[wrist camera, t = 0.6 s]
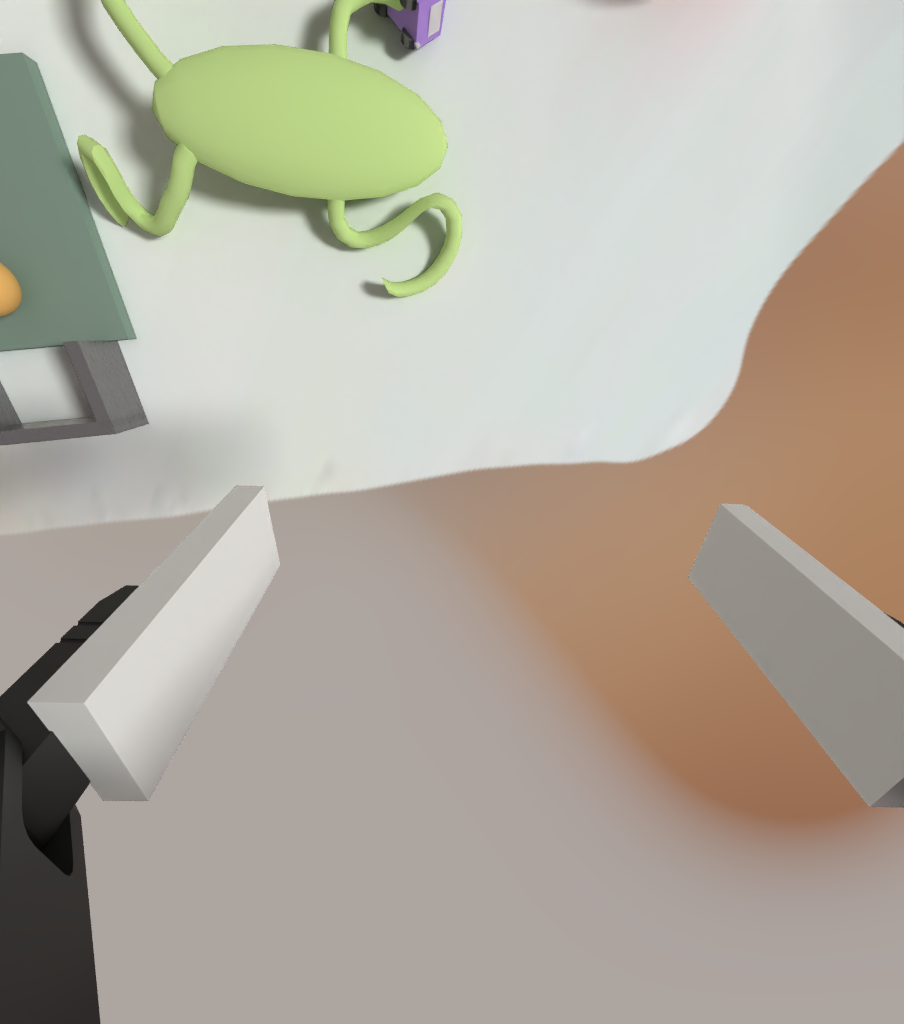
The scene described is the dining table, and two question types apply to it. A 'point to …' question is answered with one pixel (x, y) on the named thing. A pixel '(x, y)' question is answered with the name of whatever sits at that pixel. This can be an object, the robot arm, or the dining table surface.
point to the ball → (9, 291)
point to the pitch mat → (48, 226)
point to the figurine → (292, 128)
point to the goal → (105, 394)
